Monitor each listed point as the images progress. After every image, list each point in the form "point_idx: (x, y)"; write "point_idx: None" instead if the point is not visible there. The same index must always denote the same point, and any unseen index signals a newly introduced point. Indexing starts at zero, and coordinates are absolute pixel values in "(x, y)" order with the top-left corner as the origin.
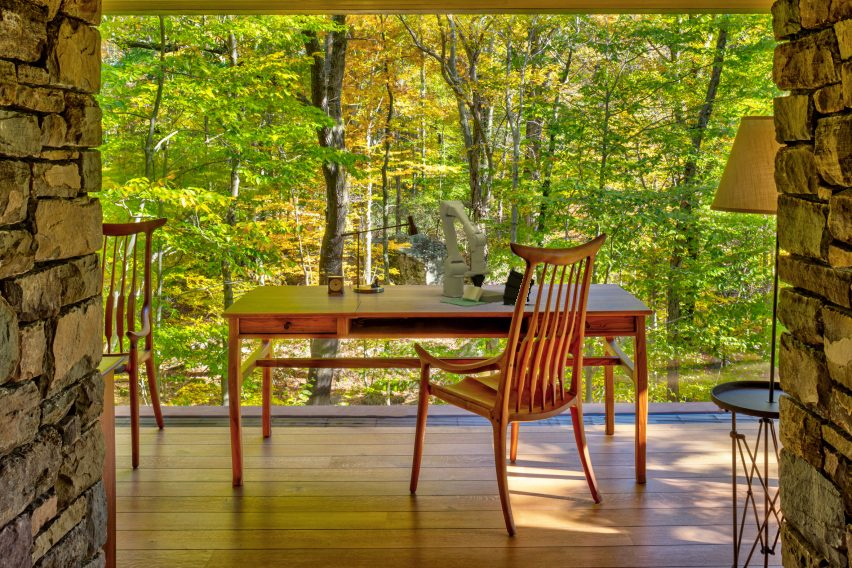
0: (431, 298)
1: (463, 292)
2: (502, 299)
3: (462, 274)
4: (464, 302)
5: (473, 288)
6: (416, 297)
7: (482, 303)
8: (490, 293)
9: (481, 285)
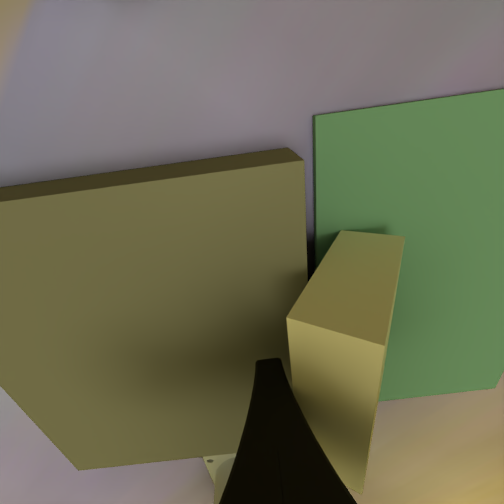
0: (406, 461)
1: (227, 479)
2: (47, 184)
3: None
4: (451, 265)
5: (377, 397)
6: (427, 491)
7: (388, 112)
8: (124, 333)
9: (249, 434)
